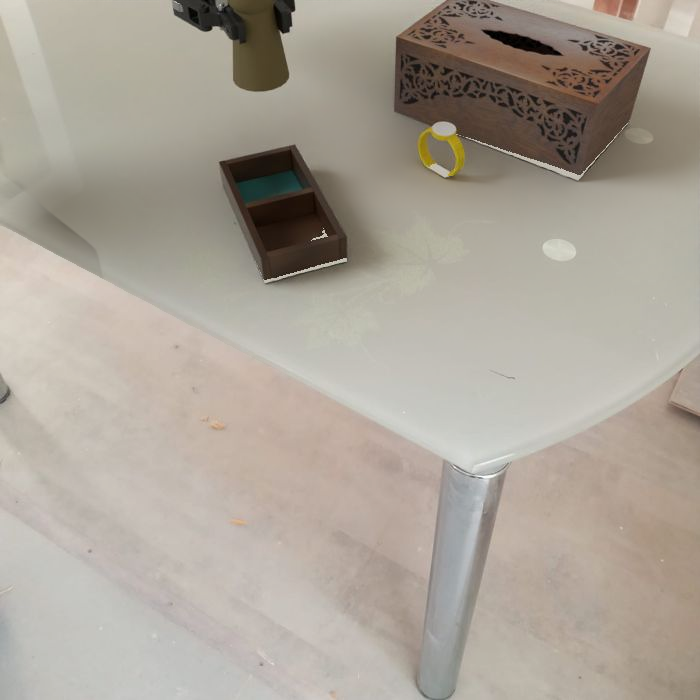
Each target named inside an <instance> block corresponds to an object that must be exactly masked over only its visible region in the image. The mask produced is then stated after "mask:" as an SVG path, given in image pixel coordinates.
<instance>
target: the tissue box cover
mask: <svg viewBox="0 0 700 700" xmlns="http://www.w3.org/2000/svg"><path fill="white" fill-rule="evenodd" d="M651 49H652V48H651V47H649V46H646V45H642V44H639V43H635V42H632V41H628V40H625V39H622V38H619V37H615V36H612V35H609V34H605V33H602V32H598V31H595V30H593V29H592V30H591V29H589V28H585V27H581V26H578V25H576V24H572V23H568V22H565V21H562V20H558V19H554V18H551V17H548V16H544V15H541V14H538V13H534V12H531V11H527V10H524V9H521V8H517V7H514V6H510V5H507V4H504V3H500V2H498V1H494V0H445V1H443V2H441V3H440V4H439V5H438V6H436V7H435V8H434V9H432V10H431V11H429V12H428V13H426V14H425V15H424V16H422V17H421V18H420V19H419V20H417V21H415V22H413V24H411V25H410V26H409V27H407V28H406V29H405V30H403V31H402V32H401V33H399V34H397V36H395V57H394V58H395V63H394V65H395V66H394V91H393V92H394V93H393V97H394V98H393V112H395V113H397V114H401V115H403V116H406V117H408V118H411V119H413V120H415V121H419V122H421V123H424V124H426V125H428V126H430V127H431V126H433V125H434V124H435V123H437V122H449V123H452V124H453V125H454V126H455V127H456V134H458V135H461V136H464V137H468V138H471V139H474V140H477V141H480V142H482V143H486V144H488V145H492V146H494V147H498V148H500V149H503V150H506V151H508V152H509V151H510V152H512V153H516V154H519V155H521V156H524V157H527V158H530V159H534V160H537V161H540V162H543V163H547V164H549V165H552V166H555V167H558V168H560V169H561V168H562V169H564V170H566V171H569V172H572V173H575V174H577V175H581V174H582V173H583V171H585V170H586V168H587V167H588V166H589V165H590V164H591V163H592V162H593V161H594V160H595V158H596V157H597V156H598V155H599V154H600V153H601V152H602V151H603V150H604V149H605V148H606V146H607V145H608V144H609V143H610V142H611V141H612V140H613V139H614V137H615V136H616V135H617V134H618V133H619V132H620V131H621V130H622V128H623V127H624V126H625V125H626V124H627V123H628V122H629V123H630V121H631V118H632V114H633V110H634V107H635V104H636V101H637V98H638V93H639V90H640V87H641V84H642V80H643V76H644V73H645V71H646V66H647V63H648V60H649V57H650V53H651ZM629 120H630V121H629ZM458 135H457V136H458Z"/></svg>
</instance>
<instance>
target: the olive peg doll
mask: <svg viewBox="0 0 700 700" xmlns="http://www.w3.org/2000/svg"><path fill="white" fill-rule="evenodd" d="M275 1H276V0H227V2H228V4H229V5H230V6H231V7H232V9H233V10H234V12H236V13H237V14H238V15H239V17H240V18H241V19H242V21H243V23H244V26H245V33H246V43H243V44H239V43H238V42H237V41H236V40H232V81H233V83H234V85H235V86H237V87H238V88H239V89H241V90H245V91H247V92H248V91H249V92H256V93H260V92H261V93H262V92H269V91H273V90H276V89H279V88H281V87H283V86H284V85H285V84H286V83H287V82H288V80H289V79H290V71H289V65H288V62H287V57H286V53H285V49H284V44H283V40H282V35H281V32H280V30H279V29H278V26H277V20H276V15H275V10H274V3H275Z"/></svg>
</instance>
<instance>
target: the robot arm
mask: <svg viewBox="0 0 700 700" xmlns="http://www.w3.org/2000/svg"><path fill="white" fill-rule="evenodd" d="M170 1H171V5H172V11H173V15H174V16H175V17H177V18H178V19H180V20H182V21H183V22H185V23H187V24H189V25H191V26H192V27H194V28H196V29H197V30H198V31H201V32H202V33H208V32H211V31H213V27H215V28H216V27H218V28H219V30H220V31H223V32H224V33H225V34H226V36H227V37H228V39H229V40H231V41H233V40H236V41H237V42H238V43H239V44H243V43H246V33H245V26H244V23H243V21H242V19H241V18H240V17H239V15H238V14H237V13H236V12H234V10H233V9H232V7H231V6H230V5H229V4H228V2H227V0H170ZM295 1H296V0H276V1H275V3H274V10H275V15H276V20H277V26H278V29H279V31H280V34H282V35H285V34H288V33H290V32H291V28H292V27H293V15H292V14H293V13H294V12H296V2H295Z"/></svg>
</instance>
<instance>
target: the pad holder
mask: <svg viewBox="0 0 700 700" xmlns="http://www.w3.org/2000/svg"><path fill="white" fill-rule="evenodd" d="M218 165H219V171H220V176H221V182H222V183H221V184H222V187H223V189H224V192H225V194H226V196H227V199H228V202H229V204H230V207H231V209H232V211H233V213H234V216H235V218H236V220H237V223H238V225H239V227H240V230H241V233H242V234H244V235H243V237H244V239H245V242H246V241H247V242H246V244H247V243H248V244H247V246H248V245H249V246H248V249H249V248H250V249H249V251H250V250H251V251H250V253H251V252H252V253H251V255H252V254H253V256H252V258H253V257H254V258H253V260H254V259H255V260H254V262H255V261H256V263H257V265H258V267H259V270H260V272H261V274H262V277H263V279H264V280H267V279H271V278H277V277H279V276H283V275H286V274H290V273H294V272H297V271H301V270H304V269H308V268H310V267H315V266H317V265H321V264H325V263H329V262H333V261H337V260H340V259H343V258H347V259H348V237H347V235H346V232H345V230H344V229H343V227H342V226H341V224H340V222H339V220H338V219H337V217H336V215H335V213H334V212H333V209H332V208H331V206H330V204H329V202H328V201H327V198H326V197H325V195H324V193H323V192H322V190H321V188H320V186H319V184H318V183H317V181H316V179H315V177H314V176H313V173H312V171H311V170H310V168H309V167H308V165H307V163H306V161H305V160H304V158H303V155H302V153H301V152H300V150H299V148H298V147H297V145H296V144H295V143H294V144H289V145H286V146H282V147H278V148H272V149H269V150H265V151H260V152H256V153H251V154H246V155H242V156H238V157H233V158H229V159H226V160H225V159H223V160H220V161H218ZM323 228H324V229H323ZM323 230H325V233H326V234H327V236H328V237H324V238H320V239H316V240H312V239H313V238H316V237H320V236H322V235H323V234H324V233H322V231H323ZM311 240H312V241H311ZM256 263H255V264H256ZM257 265H256V266H257ZM258 267H257V268H258ZM259 270H258V271H259ZM260 272H259V273H260ZM261 274H260V275H261ZM262 277H261V278H262ZM263 279H262V280H263Z"/></svg>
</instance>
